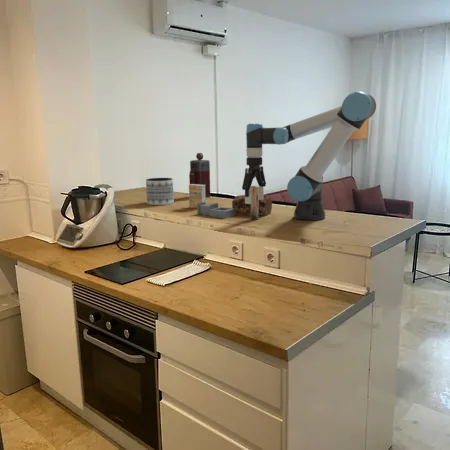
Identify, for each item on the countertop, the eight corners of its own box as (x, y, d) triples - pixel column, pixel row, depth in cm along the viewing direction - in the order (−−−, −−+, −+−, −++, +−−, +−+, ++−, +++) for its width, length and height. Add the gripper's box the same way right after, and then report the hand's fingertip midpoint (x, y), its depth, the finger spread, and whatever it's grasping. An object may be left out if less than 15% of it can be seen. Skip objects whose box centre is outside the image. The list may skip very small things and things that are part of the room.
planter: (179, 202, 280) (178, 178, 277) (162, 206, 267) (161, 181, 264) (158, 200, 288) (157, 177, 285) (141, 204, 275) (140, 179, 272)
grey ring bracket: (205, 211, 247) (205, 201, 246) (236, 215, 237) (236, 203, 236) (195, 215, 239) (195, 203, 238) (226, 218, 230) (226, 206, 228)
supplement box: (188, 208, 259) (188, 184, 257) (192, 206, 264) (192, 183, 261) (202, 209, 256) (201, 185, 254) (206, 207, 261) (205, 184, 258)
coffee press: (188, 197, 298) (186, 153, 292) (200, 195, 306) (199, 152, 300) (198, 198, 292) (196, 153, 286) (210, 196, 300) (209, 152, 295)
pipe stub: (252, 217, 229) (252, 185, 226) (260, 218, 227) (260, 186, 224) (248, 219, 226) (248, 186, 223) (256, 220, 224) (256, 187, 221)
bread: (272, 213, 242) (272, 194, 239) (264, 217, 232) (264, 197, 230) (240, 210, 250) (239, 192, 248) (231, 214, 241) (230, 195, 239)
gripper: (259, 155, 232) (259, 197, 237) (234, 158, 212) (234, 204, 217) (272, 155, 229) (272, 198, 233) (248, 158, 208) (248, 206, 213)
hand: (254, 201), depth 225 cm, fingers open, 12 cm apart
